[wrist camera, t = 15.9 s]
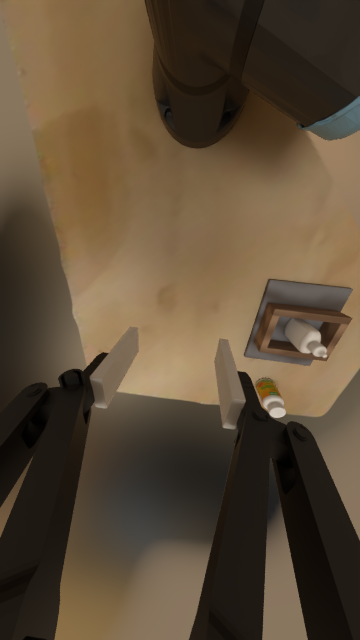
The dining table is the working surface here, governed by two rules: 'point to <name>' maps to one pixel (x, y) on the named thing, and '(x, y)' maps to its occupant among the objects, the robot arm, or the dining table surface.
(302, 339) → the eye dropper bottle
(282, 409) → the supplement bottle
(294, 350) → the bottle holder
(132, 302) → the dining table surface
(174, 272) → the dining table surface
